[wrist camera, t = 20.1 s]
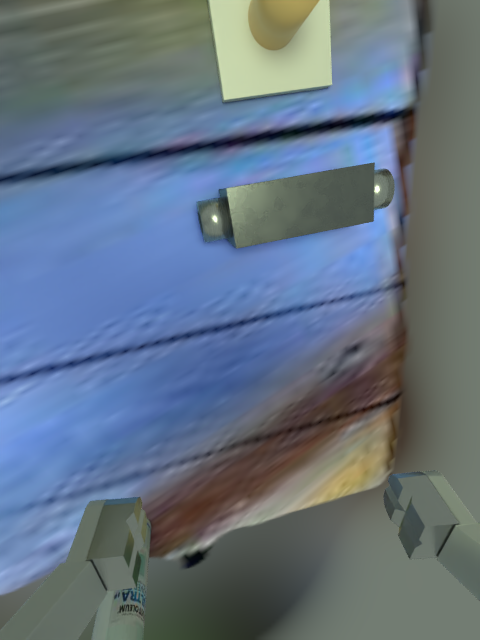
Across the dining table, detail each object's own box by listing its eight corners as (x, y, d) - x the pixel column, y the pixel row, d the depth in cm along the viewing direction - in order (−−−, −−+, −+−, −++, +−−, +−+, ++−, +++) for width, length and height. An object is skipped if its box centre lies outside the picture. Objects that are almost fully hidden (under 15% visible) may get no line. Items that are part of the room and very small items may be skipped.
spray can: (159, 524, 54) (151, 689, 36) (133, 544, 55) (111, 717, 37) (132, 508, 52) (107, 677, 33) (104, 529, 52) (65, 707, 34)
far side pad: (222, 102, 33) (224, 99, 32) (199, -53, 28) (199, -62, 27) (327, 87, 34) (331, 84, 33) (322, -64, 29) (326, -72, 28)
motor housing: (203, 245, 38) (207, 254, 32) (192, 194, 35) (195, 193, 30) (368, 213, 40) (398, 216, 35) (369, 163, 38) (401, 157, 32)
